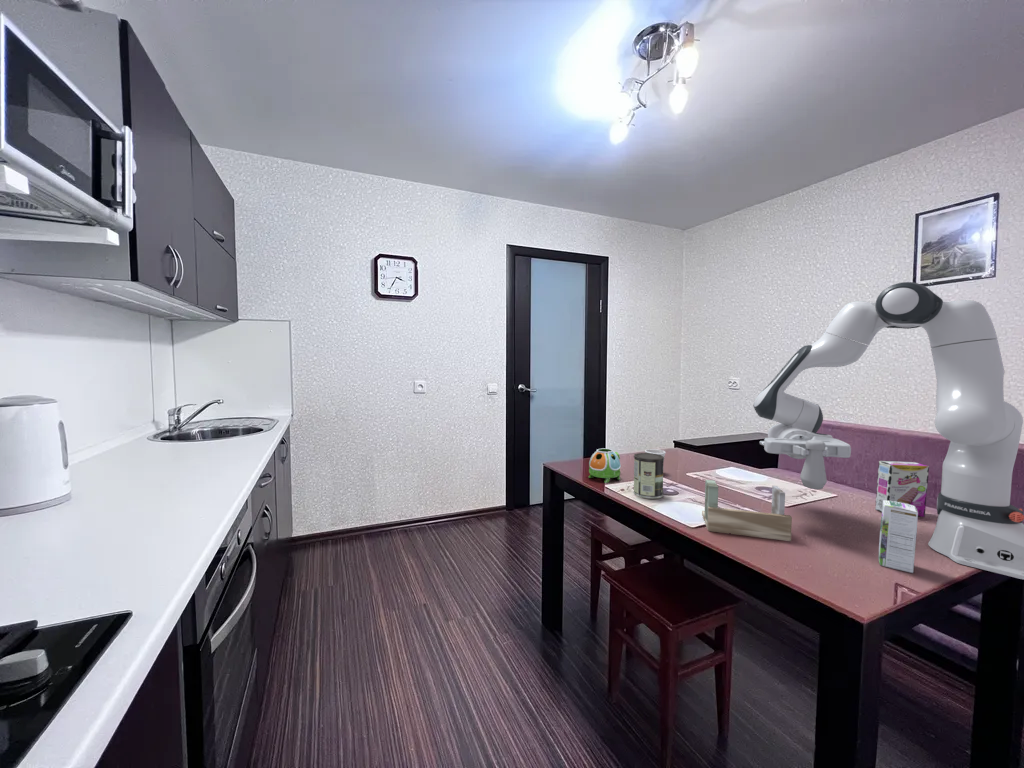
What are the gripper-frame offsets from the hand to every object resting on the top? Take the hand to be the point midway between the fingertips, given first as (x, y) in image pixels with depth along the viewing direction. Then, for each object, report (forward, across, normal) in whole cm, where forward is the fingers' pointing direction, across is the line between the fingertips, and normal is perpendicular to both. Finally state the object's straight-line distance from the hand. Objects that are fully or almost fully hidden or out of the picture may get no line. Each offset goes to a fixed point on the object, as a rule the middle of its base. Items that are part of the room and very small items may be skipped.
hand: (816, 453), depth 106 cm
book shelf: (-1, -17, +23) cm, 29 cm away
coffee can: (-23, -42, +23) cm, 53 cm away
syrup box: (+12, +12, +24) cm, 29 cm away
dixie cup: (-51, -39, +23) cm, 69 cm away
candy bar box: (-29, +34, +24) cm, 50 cm away
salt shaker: (-1, 0, +10) cm, 10 cm away
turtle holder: (-39, -59, +23) cm, 74 cm away
